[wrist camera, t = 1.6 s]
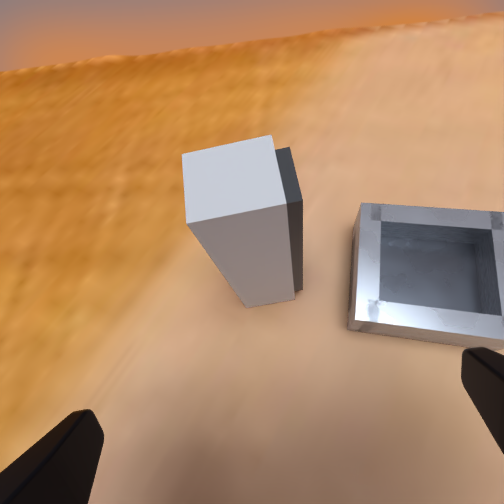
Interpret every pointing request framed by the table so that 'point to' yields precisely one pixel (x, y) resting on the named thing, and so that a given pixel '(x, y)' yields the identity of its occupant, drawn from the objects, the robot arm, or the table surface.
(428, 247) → the grey l-shaped stand
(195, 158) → the tall grey pillar
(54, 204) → the table surface
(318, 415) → the table surface
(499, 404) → the robot arm
